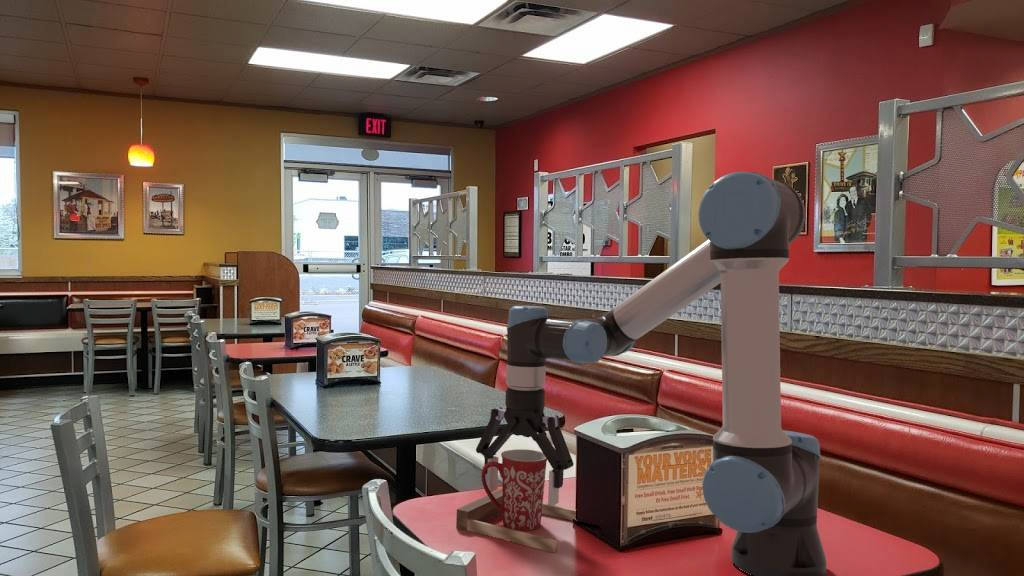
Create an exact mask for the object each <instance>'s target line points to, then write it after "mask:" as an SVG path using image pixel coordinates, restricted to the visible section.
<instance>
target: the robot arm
mask: <svg viewBox="0 0 1024 576" xmlns="http://www.w3.org/2000/svg"><path fill="white" fill-rule="evenodd" d="M697 213H698V214H697V215H698V223H699V227H700V230H701V232H702V233H703V235H705V238H706V239H707V240H705V241H704V242H703V243H701V244H699V245H698V246H697V247H696V248H694V249H693V250H691V251H690V252H689V253H687V254H685V256H683V257H682V258H681V259H679V260H678V261H676V262H674V263H673V264H672V265H671V266H669V267H668V268H667V269H665V270H664V271H663V272H661V273H660V274H658V275H657V276H656V277H654V278H653V279H652V280H650V281H649V282H648V283H646V284H645V285H643V286H642V287H640V288H639V289H638V290H636V291H634V292H633V293H632V294H630V295H629V296H628V297H626V299H624V300H622V301H621V302H620V303H618V304H617V305H616V306H615V307H614V308H612V309H610V310H608V312H606V313H605V314H603V315H602V316H601V317H594V318H583V319H582V318H581V319H563V318H551V317H549V312H548V309H547V307H545V306H538V305H514V306H512V307H510V309H509V310H508V311H509V312H508V318H507V327H506V332H507V333H506V335H507V337H506V341H507V343H506V345H507V349H506V350H507V354H506V355H507V359H506V367H505V368H506V371H505V384H506V385H507V387H506V389H505V396H504V397H505V398H504V399H505V403H504V405H505V406H506V409H503V407H502V406H501V407H500V406H499V407H496V408H491V410H490V418H489V420H488V423H487V425H486V427H485V429H484V431H483V434H482V436H481V438H480V440H479V441H478V444H477V446H476V448H475V452H476V453H477V454H480V455H482V456H483V457H484V464H483V466H484V465H485V464H486V463H488V462H491V461H494V462H498V463H499V458H500V457H499V456H496V455H497V453H498V452H499V450H500V449H501V448H502V447H503V446H504V445H505V443H507V441H508V440H509V439H510V437H512V436H513V435H514V436H518V437H519V436H522V437H524V438H531V439H532V440H533V441H534V442H535V443H536V444H537V446H538V448H539V449H540V452H543V454H544V455H545V457H546V459H547V461H548V463H549V465H550V466H551V468H552V469H550V470H549V471H548V495H547V497H548V498H547V499H548V500H547V504H548V506H551V507H552V506H554V505H557V504H559V503H560V502H559V501H560V500H559V496H560V494H559V493H560V489H561V488H563V485H564V471H565V470H568V469H570V468H572V467H573V466H574V461H573V458H572V456H571V453H570V451H569V447H568V446H567V443H566V440H565V438H564V434H563V433H562V430H561V425H560V417H559V415H556V414H555V415H552V416H546V415H545V412H544V411H545V410H544V409H545V406H546V405H545V399H546V389H544V386H545V385H546V375H547V374H546V371H547V369H546V368H547V359H550V360H559V361H564V362H571V363H575V364H596V363H598V362H599V361H600V359H601V358H604V357H617V356H619V355H620V356H621V354H625V353H627V352H629V351H631V349H632V348H633V346H634V345H635V342H636V341H637V340H638V339H640V338H641V337H643V336H644V335H646V334H647V333H649V332H650V331H652V330H653V329H655V328H657V326H659V325H660V324H662V323H664V322H665V321H667V320H668V319H669V318H671V317H672V316H674V315H675V314H677V313H678V312H680V311H682V310H683V309H685V308H686V307H688V306H689V305H690V304H691V303H693V302H695V301H696V300H697V299H699V298H700V297H702V296H703V295H705V294H707V293H708V292H710V291H711V290H713V289H714V288H716V287H717V286H719V285H720V318H721V319H720V322H721V327H720V328H721V329H720V331H721V376H722V377H721V382H722V383H721V391H722V393H721V394H722V396H721V398H722V401H721V402H722V426H721V427H720V429H719V430H718V431H716V433H714V434H713V435H712V436H713V437H712V462H711V464H709V466H708V468H707V469H706V471H705V473H704V475H703V478H702V484H701V485H702V496H703V499H704V502H705V503H706V506H707V508H708V509H709V511H710V513H711V514H712V515H713V516H715V518H716V519H717V520H718V521H719V522H720V523H721V524H723V526H725V527H727V528H729V529H731V530H734V531H736V535H735V538H734V539H733V542H732V545H731V554H730V555H731V556H730V560H732V561H731V563H732V562H733V563H734V564H735V566H737V567H738V568H740V569H742V570H743V571H745V572H747V573H749V574H751V575H754V576H825V575H826V576H827V564H828V563H827V557H826V554H825V551H824V548H823V547H824V546H823V543H822V541H821V537H820V534H819V530H818V523H817V522H818V505H819V504H818V502H819V482H820V461H821V458H822V457H821V456H822V455H821V447H820V441H819V440H818V439H817V437H815V436H814V435H812V434H808V433H807V434H806V433H802V432H796V431H790V430H784V429H782V407H781V406H782V404H781V403H782V400H781V397H782V395H781V394H782V392H781V391H782V390H781V345H780V344H781V342H780V341H781V340H780V338H781V337H780V331H781V330H780V277H779V276H780V271H781V269H782V268H783V267H785V265H786V264H787V263H788V262H789V261H790V245H791V244H792V243H793V242H794V241H795V240H797V238H798V237H799V236H800V234H801V232H802V231H803V228H804V226H805V223H806V208H805V203H804V201H803V199H802V197H801V195H800V194H799V193H798V191H797V190H795V188H793V187H792V186H790V185H789V184H787V183H786V182H784V181H780V180H778V179H773V178H770V177H768V176H767V175H765V174H762V173H759V172H756V171H753V172H752V171H751V172H748V171H736V172H730V173H728V174H725V175H722V176H721V177H719V178H717V179H716V180H715V181H714V182H713V183H712V184H711V185H710V186H709V187H708V188H707V189H706V190H705V192H704V194H703V196H702V198H701V200H700V202H699V205H698V211H697ZM503 419H504V420H505V422H506V423H507V424H506V425H505V427H503V428H502V430H501V431H500V433H499V434H498V436H497V437H496V438H495V439H494V437H495V436H496V433H497V430H499V429H498V428H499V427H500V425H501V423H502V421H503ZM544 424H545V427H546V428H547V429H548V430H547V431H548V434H549V436H550V439H551V441H550V439H549V438H548V436H547V432H546V430H545V429H544V427H543V426H544ZM493 439H494V440H493ZM485 475H487V476H486V483H487V486H488V488H489V490H490V492H491V493H494V492H496V491H499V489H498V488H499V487H498V485H499V470H498V469H497V468H496V467H494V466H492V467H489V468H488V469H487V471H486V474H485ZM733 563H732V564H733ZM735 566H734V567H735ZM737 567H736V568H737ZM738 568H737V569H738ZM743 571H742V572H743ZM749 574H748V575H749ZM751 575H750V576H751Z"/></svg>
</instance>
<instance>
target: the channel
mask: <svg viewBox="0 0 1024 576" xmlns="http://www.w3.org/2000/svg"><path fill="white" fill-rule="evenodd" d="M491 493H492V495H493V496H494V497H495V499H496V500H497V501H498V502H499V503H501V504H502V503H503V488H501V489H498V490H495V491H493V492H491ZM576 510H577V509H573V508H570V507H569V508H568V507H564V506H561V505H560V506H559V505H557V504H555V505H554V506H552V507H551V506H548V502H547V503H546V502H543V504H542V515H545V516H550V517H555V518H559V519H563V520H568V521H572V520H573V519H574V518H575V515H576ZM500 513H501V512H500V511H499V510H498V509H497V508H496V506H495V505H494V504H493V502H492V501H491V500H490V498H489V497H488V495H487V494H486V496H483V497H480V498H479V499H477V500H474V501H472V502H470V503H467V504H465V505H463V506H460V507H458V508H457V509H456V522H455V523H456V524H455V525H456V529H461V530H464V531H468V532H473V533H475V534H480V535H483V534H484V535H483V536H487V535H489V536H488V537H491V536H494V537H493V538H495V537H498V538H503V539H506V540H509V541H508V542H510V541H512V542H511V543H514V542H515V543H514V544H518V545H522V546H525V547H531V548H534V549H537V550H538V549H539V550H540V551H545V552H548V553H552V554H553V553H554V554H555V553H557V552H558V540H556V539H552V538H549V537H546V536H540V535H537V534H532V533H529V532H525V531H522V530H514V529H510V528H508V527H506V526H505V527H504V526H500V525H496V524H493V523H489V522H487V521H489V520H491V519H493V518H495V517H497V516H499V515H501V514H500ZM498 514H499V515H498ZM496 515H497V516H496ZM494 516H495V517H494ZM492 517H493V518H492ZM490 518H491V519H490ZM488 519H489V520H488ZM486 520H487V521H486ZM498 538H497V539H498ZM506 540H505V541H506Z"/></svg>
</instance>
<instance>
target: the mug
mask: <svg viewBox="0 0 1024 576" xmlns="http://www.w3.org/2000/svg"><path fill="white" fill-rule="evenodd" d="M500 456H501V459H502V460H501V463H500V462H499V461H498V462H494V461H491V462H488V463H486V464H485V465H484V464H483V467H482V469H481V475H480V477H481V483H482V487H483V489H484V492H485V493H486V496H487V495H488V497H489V498H490V500H491V501H492V502H493V504H494V505H495V506H496V508H497V509H498V510H499V511H500V512H501V514H500V515H501V516H502V525H504V526H505V528H509V529H513V530H517V531H522V532H525V531H533V530H537V529H538V528H540V526H541V523H542V522H541V521H542V515H543V514H542V504H543V503H544V501H543V500H544V493H545V481H546V480H545V479H546V471H547V461H548V460H547V459H546V457H545V455H544V454H543V452H542V451H541V450H540V451H539V450H534V449H528V448H527V449H525V448H524V449H521V448H520V449H519V448H518V449H517V448H516V449H515V448H514V449H508V450H507V449H506V450H504V451H502V452H501V454H500ZM492 466H494V467H496V468H497V469H498V474H499V476H500V478H501V479H502V482H501V483H502V489H503V503H502V504H501V503H499V502H498V501H497V500H496V499H495V497H494V496H493V495H492V493H493V492H490V490H489V488H488V486H487V478H486V475H487V474H486V471H487V469H488V468H489V467H492Z"/></svg>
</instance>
